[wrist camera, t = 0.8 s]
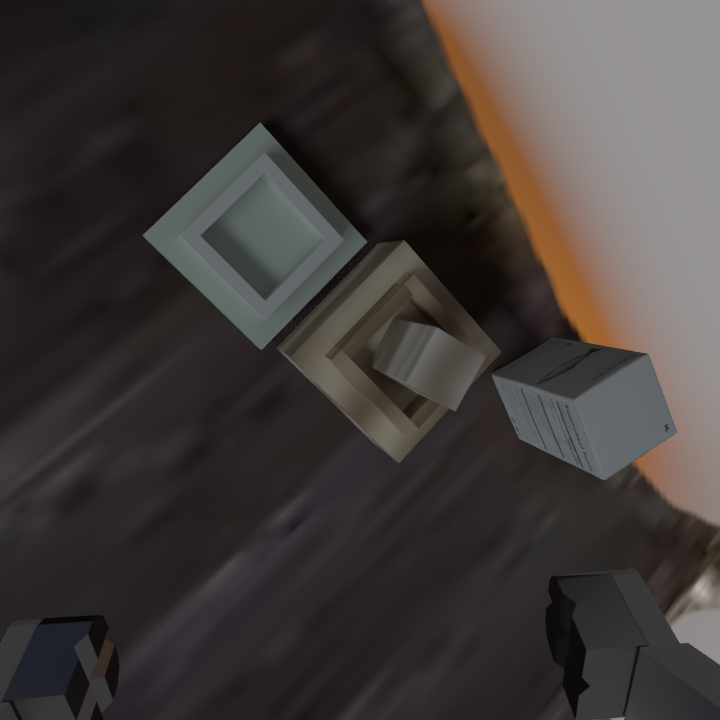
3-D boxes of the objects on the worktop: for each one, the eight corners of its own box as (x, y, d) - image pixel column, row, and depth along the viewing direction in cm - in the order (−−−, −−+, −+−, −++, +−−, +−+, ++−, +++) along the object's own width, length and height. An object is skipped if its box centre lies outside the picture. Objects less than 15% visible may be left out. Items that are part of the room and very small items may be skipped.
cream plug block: (366, 364, 48) (406, 382, 41) (393, 318, 48) (437, 327, 41) (409, 389, 49) (455, 411, 42) (435, 343, 50) (485, 357, 42)
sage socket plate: (143, 236, 48) (142, 233, 45) (257, 126, 49) (264, 116, 46) (258, 347, 52) (265, 353, 48) (361, 242, 53) (375, 241, 50)
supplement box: (552, 334, 60) (652, 350, 48) (579, 402, 61) (681, 435, 49) (487, 372, 58) (572, 398, 46) (516, 441, 60) (606, 484, 48)
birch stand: (276, 347, 52) (296, 360, 44) (378, 243, 53) (414, 239, 46) (374, 443, 56) (408, 470, 48) (467, 343, 57) (514, 355, 49)
